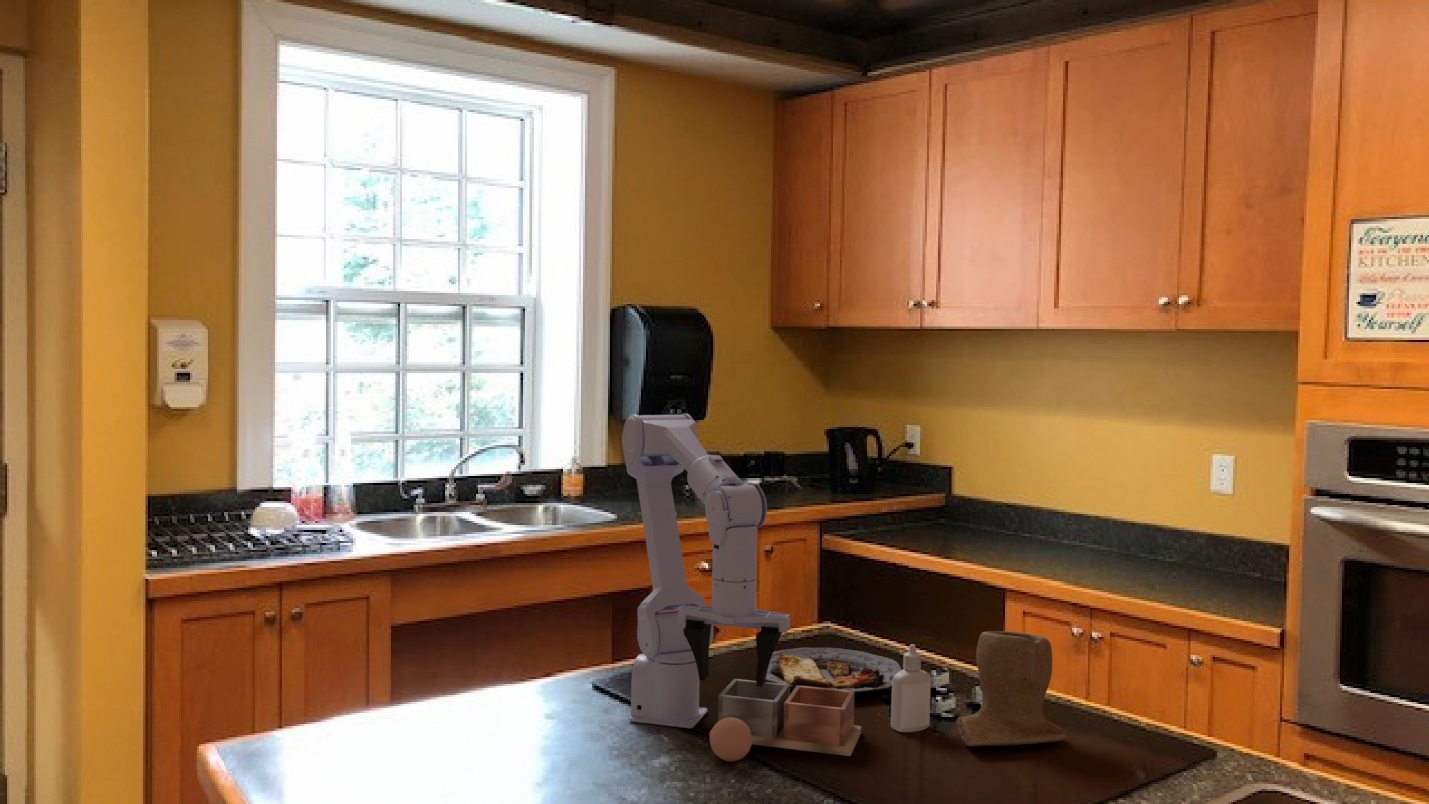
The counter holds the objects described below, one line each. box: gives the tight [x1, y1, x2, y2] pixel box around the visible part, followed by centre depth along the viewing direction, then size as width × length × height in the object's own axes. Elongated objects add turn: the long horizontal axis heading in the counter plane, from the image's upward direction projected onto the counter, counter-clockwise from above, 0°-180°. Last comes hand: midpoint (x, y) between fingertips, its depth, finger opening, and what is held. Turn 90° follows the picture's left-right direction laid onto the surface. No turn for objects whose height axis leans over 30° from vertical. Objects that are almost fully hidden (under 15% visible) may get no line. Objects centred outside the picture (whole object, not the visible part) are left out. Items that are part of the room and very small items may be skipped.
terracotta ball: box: [709, 717, 753, 762], centre depth 150 cm, size 6×6×6 cm
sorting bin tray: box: [709, 678, 862, 757], centre depth 159 cm, size 19×9×6 cm, turn 74°
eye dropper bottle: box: [890, 643, 931, 733], centre depth 163 cm, size 4×6×12 cm
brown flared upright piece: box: [955, 630, 1066, 747], centre depth 159 cm, size 15×12×15 cm
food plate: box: [765, 646, 903, 694], centre depth 185 cm, size 25×23×4 cm
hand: (732, 681), depth 149 cm, fingers open, 7 cm apart
